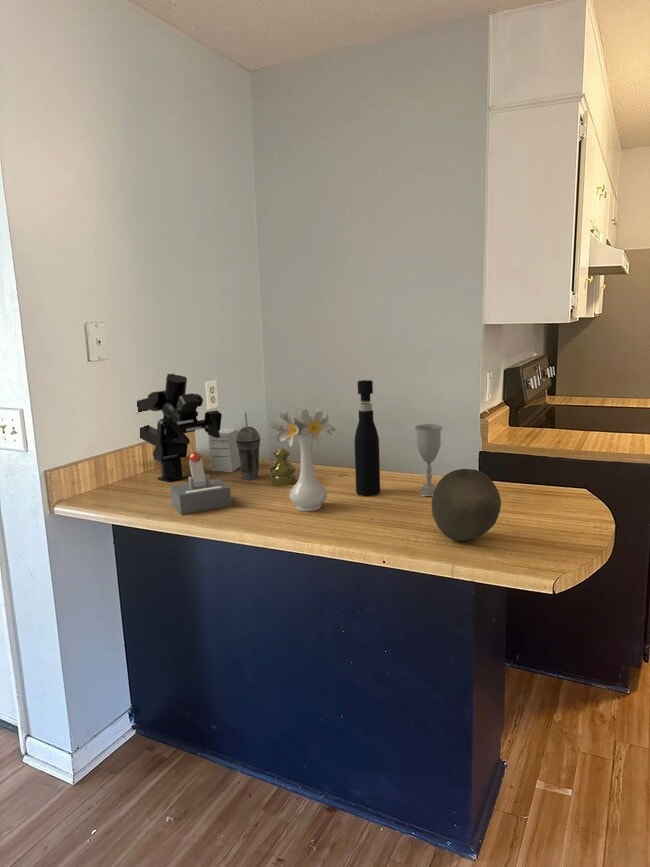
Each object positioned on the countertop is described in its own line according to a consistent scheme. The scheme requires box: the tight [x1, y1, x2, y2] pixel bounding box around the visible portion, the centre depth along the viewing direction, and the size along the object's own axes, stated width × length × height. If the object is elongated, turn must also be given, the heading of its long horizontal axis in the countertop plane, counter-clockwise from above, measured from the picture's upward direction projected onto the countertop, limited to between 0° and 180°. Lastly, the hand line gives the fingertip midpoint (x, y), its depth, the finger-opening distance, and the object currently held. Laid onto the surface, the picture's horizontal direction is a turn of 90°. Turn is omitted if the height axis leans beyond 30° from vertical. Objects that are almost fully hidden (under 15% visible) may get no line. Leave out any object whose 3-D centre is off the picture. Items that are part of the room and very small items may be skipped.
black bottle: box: [354, 379, 381, 497], centre depth 165 cm, size 6×6×30 cm
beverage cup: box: [236, 412, 261, 481], centre depth 186 cm, size 7×7×20 cm
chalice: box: [414, 423, 443, 496], centre depth 163 cm, size 7×7×18 cm
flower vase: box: [269, 407, 336, 512], centre depth 155 cm, size 13×18×25 cm
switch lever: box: [188, 452, 206, 484], centre depth 162 cm, size 3×3×8 cm
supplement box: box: [207, 427, 241, 473], centre depth 199 cm, size 7×7×13 cm
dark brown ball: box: [431, 468, 502, 542], centre depth 130 cm, size 14×14×15 cm
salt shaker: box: [269, 447, 297, 486], centre depth 181 cm, size 7×7×10 cm
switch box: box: [169, 473, 232, 516], centre depth 162 cm, size 10×13×8 cm
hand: (204, 439), depth 171 cm, fingers open, 9 cm apart
